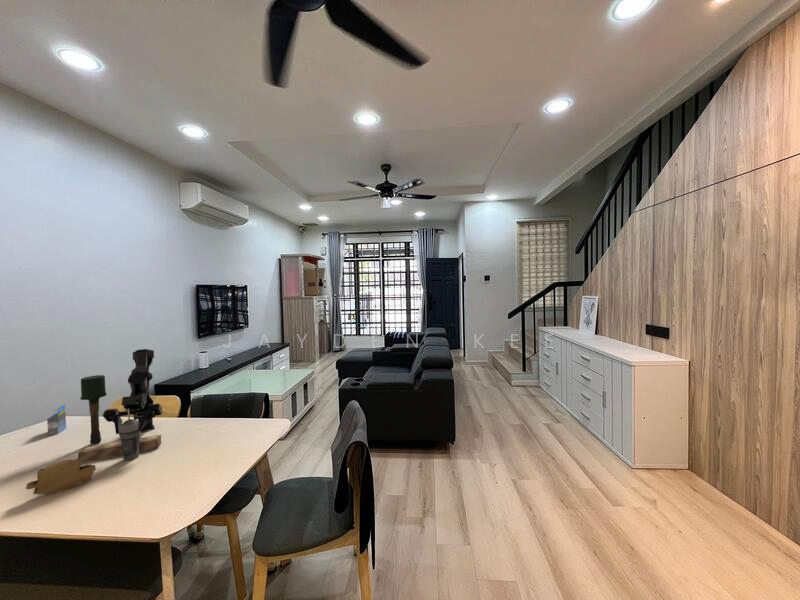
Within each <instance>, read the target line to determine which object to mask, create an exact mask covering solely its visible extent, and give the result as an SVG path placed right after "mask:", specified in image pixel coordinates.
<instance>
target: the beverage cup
mask: <svg viewBox="0 0 800 600" xmlns="http://www.w3.org/2000/svg"><path fill="white" fill-rule="evenodd" d="M139 427H140V423H139V421H138V419H136V420H134V418H133V419H131V415H130V413H129V409H128V415H127V420H124V421H123V422H122V424H121V426H120V427H119V431H118V435H119V439H120V441H121V446H122V452H123V455H122V456H123V461H124V462H130V461H132V459H133V460H136V459H137V458H139V453H140V452H139V442H140V437H141V434H142V432H141V431H139ZM135 458H136V459H135ZM129 460H130V461H129Z"/></svg>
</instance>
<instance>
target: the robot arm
mask: <svg viewBox="0 0 800 600" xmlns="http://www.w3.org/2000/svg"><path fill="white" fill-rule="evenodd" d="M154 359H155V351H154V349H153V350H152V349H148V348H141V349H137V350H135V351H133V352H132V361H133V362H134V363H135V368H133V369H131V372H130V374H129V375H128V379H127V383H128V384H129V388H130V390H131V392H130V394H129V396H122V399H121V406H123V409H124V410H120V411H119V409H118V408H109V409H105V410H104V411H103V413H102V417H103V419H104V420H105V421H106V422H107V423H108V422H109V423H110V422H113V423H114V429H115V434H116V435H119V433H118V431H119V427H120V426H121V424H122V423H123V422H124V421H123V419H122V417H124V416H128V409H129V413H130V416H133V419H134V420H137V421H139V423H140V427H139V431H141V433H142V432H148V431H151V429H152V430H156V428H155V426H154V422H153V418H156V416H161V415H163V408H162V406H161V404H160V403H154V399H153V398H152V397H151V395H150V394H151V393H150V392H151V390H150V381H152V380H153V377H154V375H153V373H152V372H150V367H151V365H152V364H153V363H154V362H153V361H154Z"/></svg>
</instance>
